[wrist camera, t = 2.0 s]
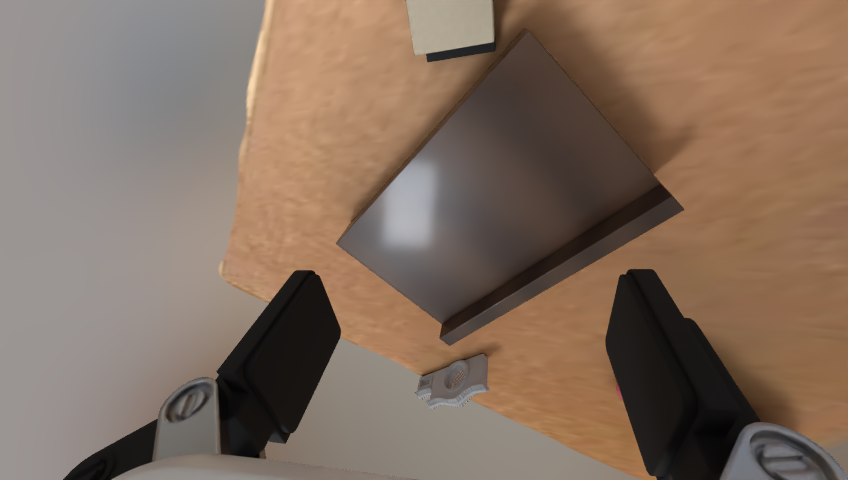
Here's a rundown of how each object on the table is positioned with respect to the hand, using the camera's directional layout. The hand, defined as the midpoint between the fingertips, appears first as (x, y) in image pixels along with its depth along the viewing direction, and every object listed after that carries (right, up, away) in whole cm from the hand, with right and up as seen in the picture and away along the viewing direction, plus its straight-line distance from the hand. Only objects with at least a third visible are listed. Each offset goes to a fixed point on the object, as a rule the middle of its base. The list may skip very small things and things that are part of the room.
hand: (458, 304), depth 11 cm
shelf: (+4, +6, +22) cm, 23 cm away
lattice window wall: (+3, -16, +37) cm, 40 cm away
